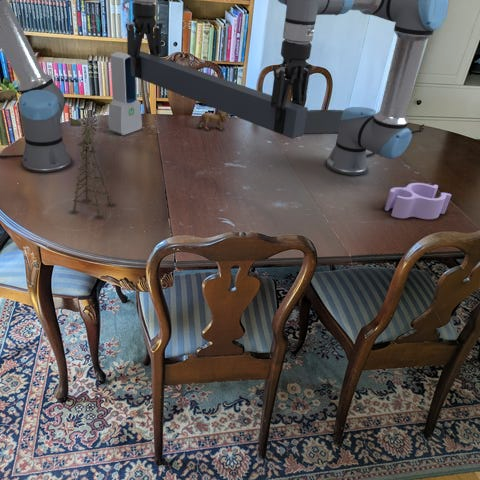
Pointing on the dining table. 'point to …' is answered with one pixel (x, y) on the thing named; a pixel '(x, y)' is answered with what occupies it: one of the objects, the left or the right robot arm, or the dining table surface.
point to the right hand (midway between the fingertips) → (284, 129)
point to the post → (220, 94)
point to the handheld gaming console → (323, 121)
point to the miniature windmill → (86, 142)
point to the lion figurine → (213, 119)
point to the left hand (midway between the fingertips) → (144, 75)
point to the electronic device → (123, 97)
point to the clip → (417, 201)
